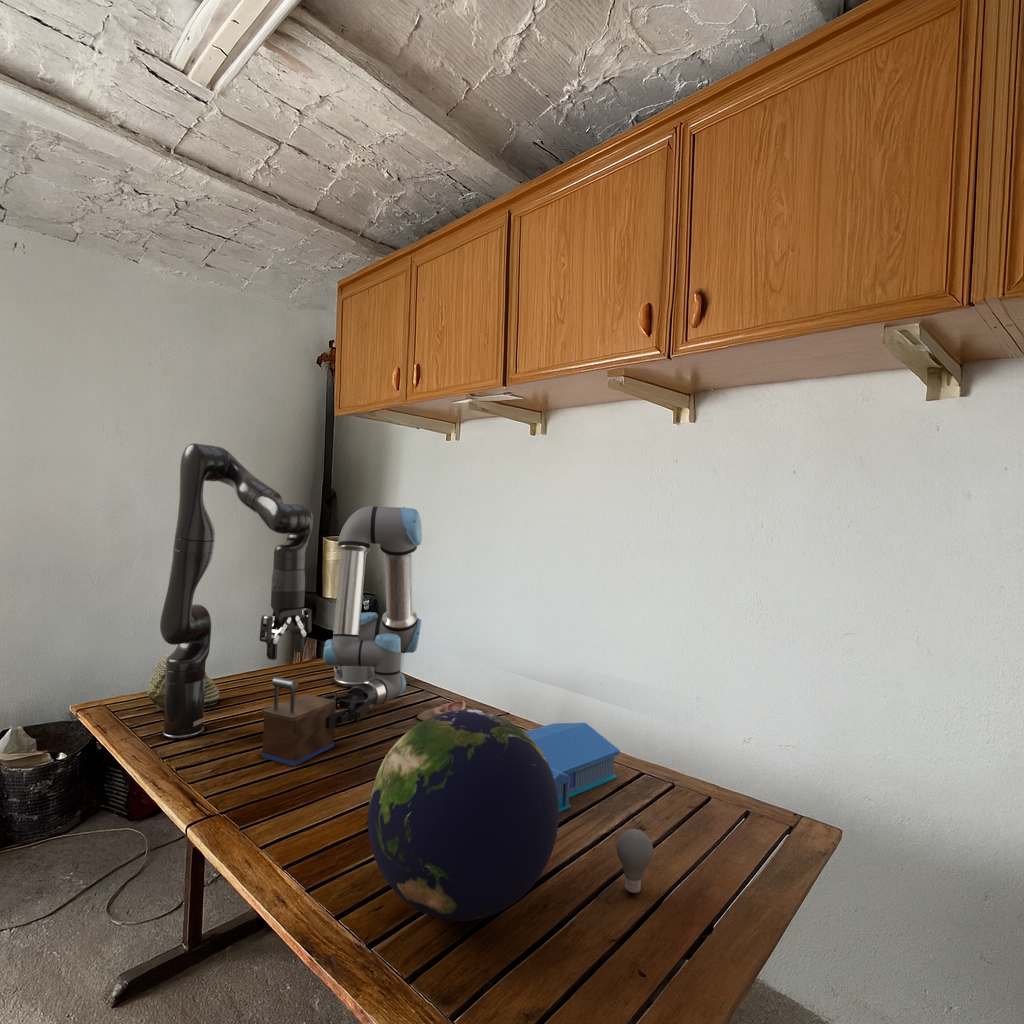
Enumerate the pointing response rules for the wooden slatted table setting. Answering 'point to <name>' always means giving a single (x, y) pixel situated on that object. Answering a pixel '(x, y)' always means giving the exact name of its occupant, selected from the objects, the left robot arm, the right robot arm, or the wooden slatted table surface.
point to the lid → (295, 702)
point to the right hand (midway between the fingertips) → (311, 719)
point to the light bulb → (634, 857)
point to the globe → (463, 815)
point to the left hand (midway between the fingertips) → (285, 655)
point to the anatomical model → (442, 710)
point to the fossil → (158, 687)
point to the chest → (297, 737)
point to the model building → (575, 757)
